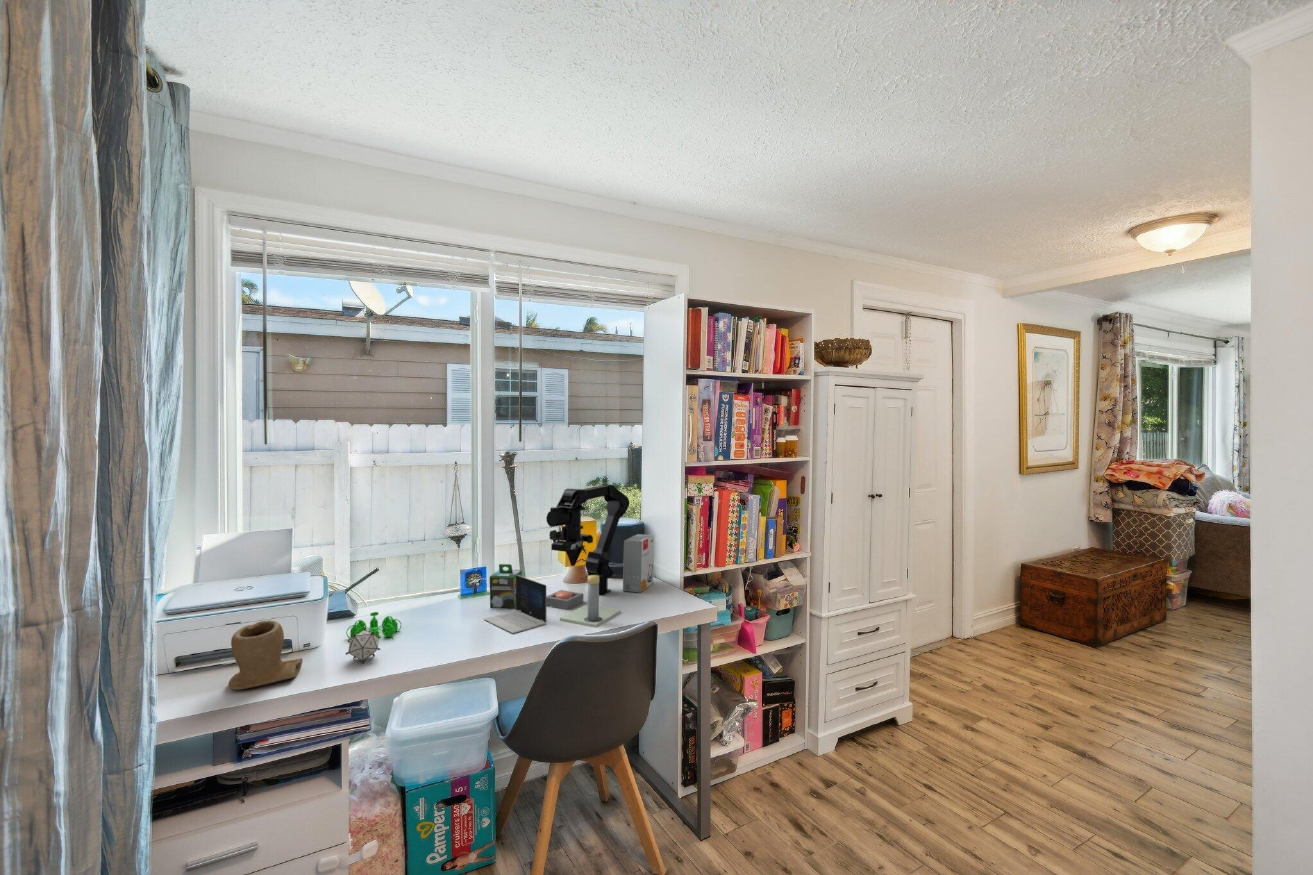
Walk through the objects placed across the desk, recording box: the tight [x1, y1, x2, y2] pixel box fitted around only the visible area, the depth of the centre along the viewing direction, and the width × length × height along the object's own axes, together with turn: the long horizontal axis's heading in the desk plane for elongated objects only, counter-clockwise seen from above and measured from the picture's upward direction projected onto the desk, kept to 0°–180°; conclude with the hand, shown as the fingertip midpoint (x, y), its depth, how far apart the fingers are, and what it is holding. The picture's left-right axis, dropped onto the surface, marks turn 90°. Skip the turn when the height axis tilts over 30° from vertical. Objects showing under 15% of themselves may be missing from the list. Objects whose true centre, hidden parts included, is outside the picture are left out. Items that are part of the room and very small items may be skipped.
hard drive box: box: [622, 533, 655, 593], centre depth 225 cm, size 16×8×20 cm, turn 161°
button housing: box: [546, 589, 584, 611], centre depth 203 cm, size 10×10×3 cm
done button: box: [556, 590, 573, 599], centre depth 203 cm, size 6×6×2 cm
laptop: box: [483, 575, 547, 634], centre depth 184 cm, size 18×12×13 cm
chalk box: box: [489, 563, 523, 610], centre depth 202 cm, size 9×9×15 cm
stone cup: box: [228, 620, 303, 691], centre depth 140 cm, size 15×12×15 cm
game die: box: [345, 626, 382, 664], centre depth 154 cm, size 9×8×10 cm
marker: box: [587, 575, 600, 621], centre depth 185 cm, size 4×4×14 cm
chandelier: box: [345, 611, 402, 639], centre depth 172 cm, size 15×15×7 cm
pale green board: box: [559, 603, 622, 628], centre depth 190 cm, size 16×14×1 cm
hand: (572, 565), depth 206 cm, fingers closed
